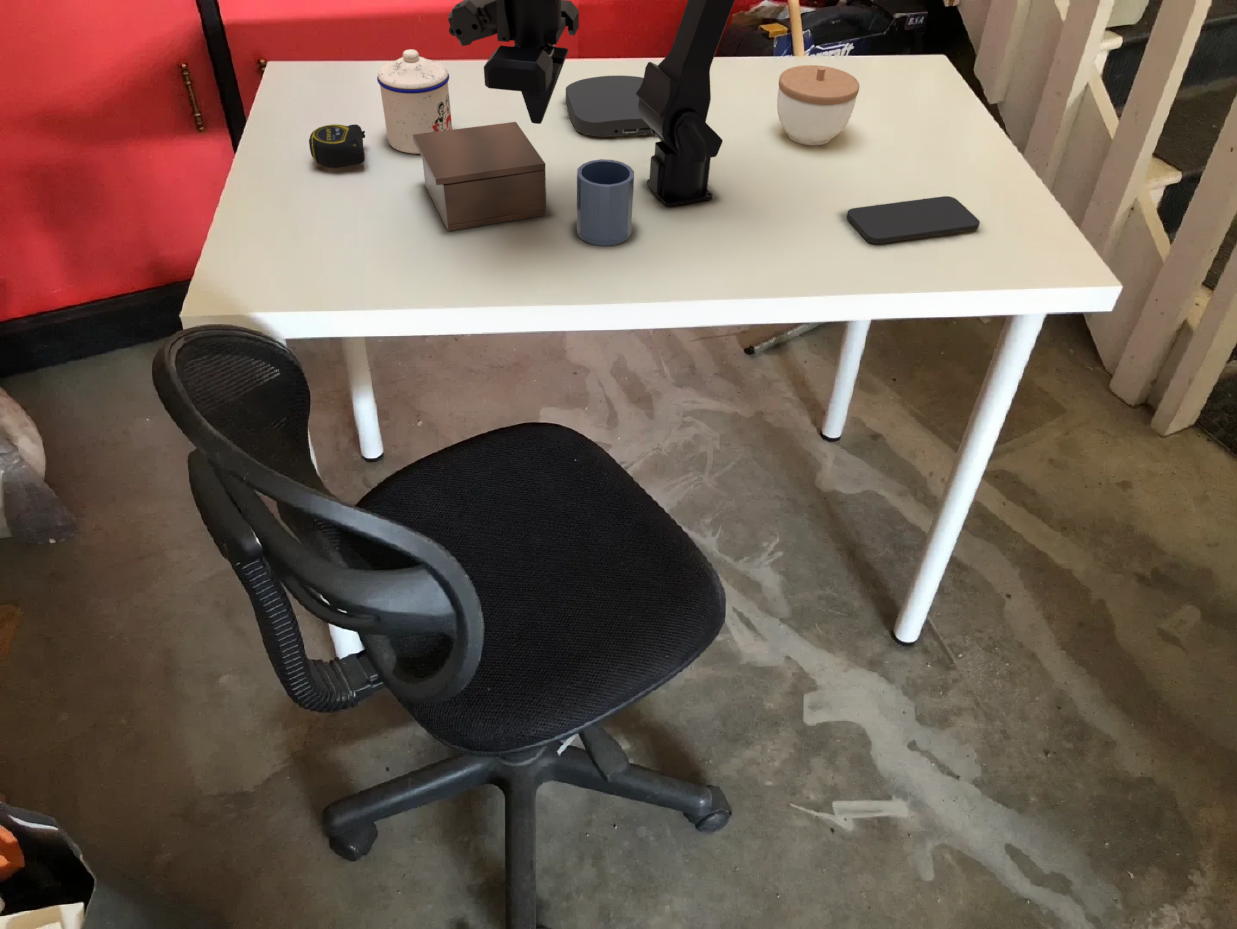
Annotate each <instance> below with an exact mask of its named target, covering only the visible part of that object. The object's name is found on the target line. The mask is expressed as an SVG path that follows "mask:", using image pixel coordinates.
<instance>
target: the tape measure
mask: <svg viewBox="0 0 1237 929" xmlns="http://www.w3.org/2000/svg"><path fill="white" fill-rule="evenodd" d="M365 134H366V131H365V130H362V127H361V126H360V125H359V124H358V123H357V124H355V123H354V124H349V125H345V124H326V125H323V126H319V127H317V128H316V129H314V130H313V131H312V132H311V133H310V135H309V139H308V144H309V150H310V151H309V152H310V155H311V157H312V159H313V160H314V161H315V162H316V164H318V165H320V166H322V167H325V168H327V169H328V168H329V169H342V168H347V167H353V166H359V165H362V164H364V162H365V160H366V158H365V149H364V139H365V138H366V135H365Z"/></svg>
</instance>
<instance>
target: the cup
mask: <svg viewBox="0 0 1237 929" xmlns="http://www.w3.org/2000/svg"><path fill="white" fill-rule="evenodd" d="M576 170H577V172H576V233H577V236H578V237H579V238H580V239H581V240H582V241H584V242H586V243H587V244H588V243H589V244H591V245H594V246H602V247H609V246H610V247H611V246H616V245H619V244H622V243H624V242H626V241H627V240H628V239H629V238H630V236H631V235H632V223H633V203H634V200H633V199H634V185H635V171H634V169H633V168H632V167H631V166H630V165H628V164H627V163H625V162H622V161H620V160H615V159H605V158H600V159H595V160H594V159H593V160H589V161H587V162H584V163H582V164H581V165H580V166H578V168H577V169H576Z"/></svg>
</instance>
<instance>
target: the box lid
mask: <svg viewBox="0 0 1237 929" xmlns="http://www.w3.org/2000/svg"><path fill="white" fill-rule="evenodd" d="M413 141H414V143H415V145H416V147H417V149H418V151H419V152H420V154H419V155H420V156H421V159H422V158H423V160H424V162H425V164H426V166H427V168H428V170H429V172H430V174H431V176H432V178H433V180H434V182H435V184H436V185H442V184H449V183H456V182H463V181H470V180H477V179H484V178H491V177H498V176H505V175H512V174H519V173H526V172H533V171H540V170H545V171H546V163H545V161H544V160H543V158H542V156H541V155H540V154H539V152H538V151H537V150H536V148H535V147H534V145H533V144H532V142H531V141H530V140H529V138H528V137H527V135H526V134H525V133H524V131H523V130H522V128H521V127H520V126H519V124H518V123H517V121H510V122H503V123H493V124H487V125H479V126H471V127H470V126H469V127H463V128H455V129H454V128H453V129H452V130H446V131H438V132H430V133H422V134H414V135H413Z"/></svg>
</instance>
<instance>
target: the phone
mask: <svg viewBox="0 0 1237 929" xmlns="http://www.w3.org/2000/svg"><path fill="white" fill-rule="evenodd" d="M846 218H847V220H848V221H849V222H850V224H852V226H853V227H854V228H855V229H856V230H857V231H858V232H859V234H860V235H861V236H862V237H863V238H864V239H865V241H867V242H868V243H871V244H876V245H877V244H885V243H886V244H887V243H893V242H900V241H907V240H915V239H920V238H921V239H922V238H928V237H935V236H942V235H943V236H944V235H950V234H957V233H964V232H970V231H971V232H972V231H975V230H978V229H979V227H980V224H981V222H980V220H979V219H978V218H977V217H976V216H975V215H974V214H973V213H972V212H971V211H970V210H969V209H968V208H967V207H965V205H963V203H961V202H960V200H958V199H957V198H955V197H954V196H948V195H944V196H943V195H942V196H936V197H928V198H919V199H912V200H905V201H897V202H890V203H881V204H874V205H867V206H859V207H853V208H850V209H848V210H847V212H846Z"/></svg>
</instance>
